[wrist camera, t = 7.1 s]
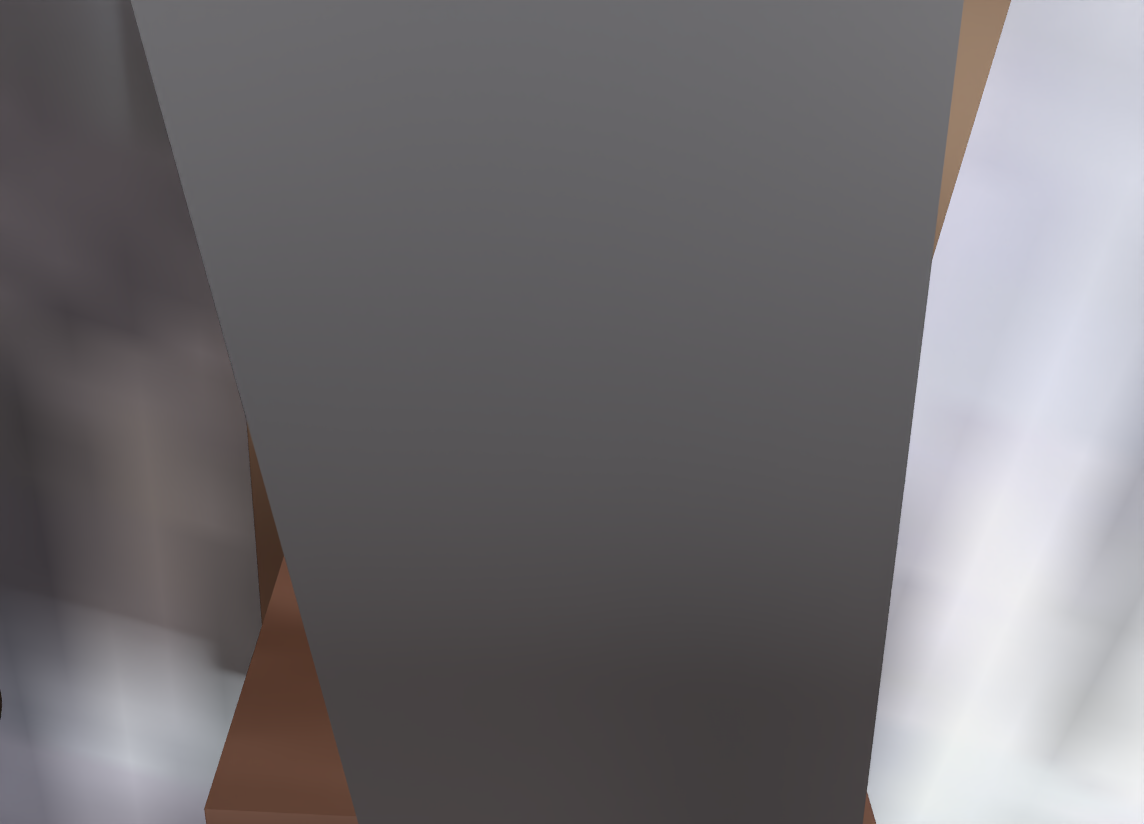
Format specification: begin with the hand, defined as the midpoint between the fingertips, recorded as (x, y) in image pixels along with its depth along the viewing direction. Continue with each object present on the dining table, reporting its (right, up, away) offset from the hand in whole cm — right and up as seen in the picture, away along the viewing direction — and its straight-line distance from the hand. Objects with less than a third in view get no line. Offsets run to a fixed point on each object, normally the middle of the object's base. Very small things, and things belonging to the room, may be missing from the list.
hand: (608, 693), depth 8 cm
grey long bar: (0, +1, +2) cm, 2 cm away
